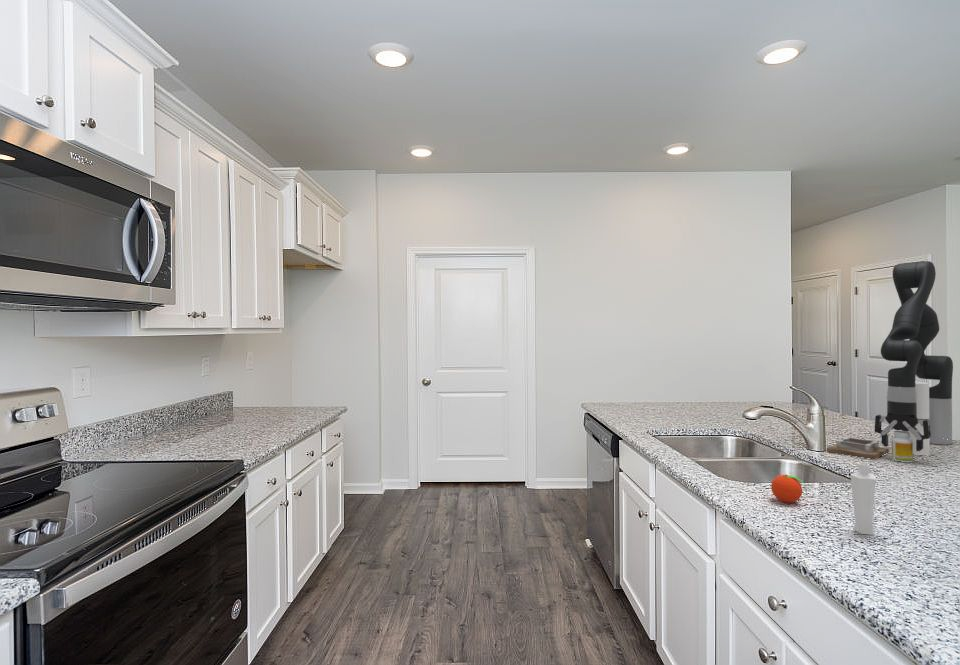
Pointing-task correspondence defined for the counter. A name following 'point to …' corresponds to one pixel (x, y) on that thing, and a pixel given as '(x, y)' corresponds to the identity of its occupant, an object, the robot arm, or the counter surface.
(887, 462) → the counter surface
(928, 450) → the cylindrical container
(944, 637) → the counter surface
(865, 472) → the perfume bottle
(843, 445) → the socket board
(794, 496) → the clementine
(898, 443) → the supplement bottle
